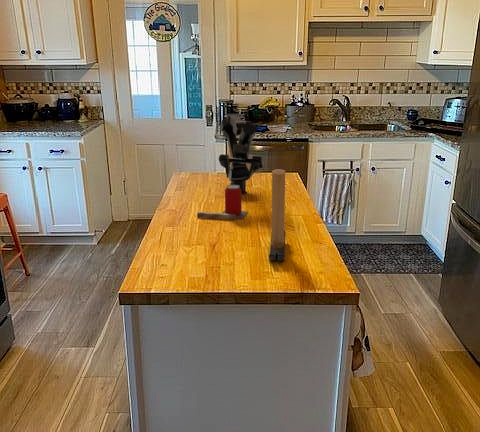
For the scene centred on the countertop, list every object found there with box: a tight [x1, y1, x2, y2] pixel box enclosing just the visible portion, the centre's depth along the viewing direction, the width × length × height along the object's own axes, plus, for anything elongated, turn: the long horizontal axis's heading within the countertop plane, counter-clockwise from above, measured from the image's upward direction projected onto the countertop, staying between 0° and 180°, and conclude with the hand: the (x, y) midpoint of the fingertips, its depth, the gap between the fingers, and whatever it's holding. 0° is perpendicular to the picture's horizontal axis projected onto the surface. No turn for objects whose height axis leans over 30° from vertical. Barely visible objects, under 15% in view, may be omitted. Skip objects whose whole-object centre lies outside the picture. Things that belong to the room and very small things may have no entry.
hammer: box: [268, 168, 286, 262], centre depth 154 cm, size 20×5×30 cm, turn 174°
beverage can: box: [224, 184, 242, 216], centre depth 195 cm, size 7×7×12 cm
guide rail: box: [196, 211, 237, 221], centre depth 193 cm, size 16×2×2 cm, turn 77°
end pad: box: [222, 209, 249, 220], centre depth 198 cm, size 10×9×1 cm
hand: (238, 178), depth 201 cm, fingers open, 9 cm apart
